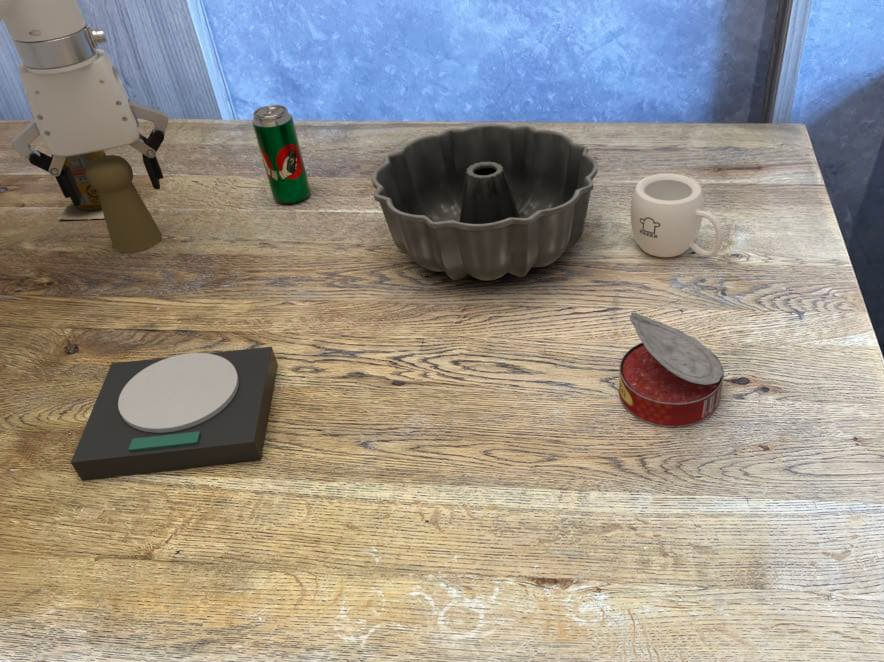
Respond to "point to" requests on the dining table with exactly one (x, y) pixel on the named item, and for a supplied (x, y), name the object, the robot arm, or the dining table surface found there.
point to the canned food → (669, 376)
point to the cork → (122, 205)
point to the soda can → (281, 154)
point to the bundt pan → (486, 198)
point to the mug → (670, 215)
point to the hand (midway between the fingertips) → (117, 192)
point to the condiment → (83, 189)
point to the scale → (178, 414)
